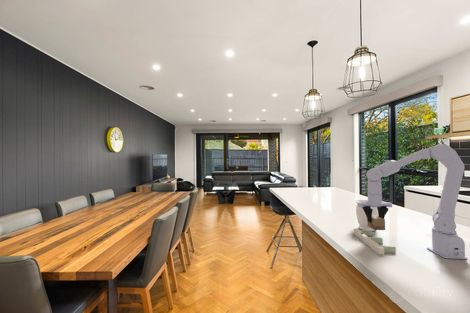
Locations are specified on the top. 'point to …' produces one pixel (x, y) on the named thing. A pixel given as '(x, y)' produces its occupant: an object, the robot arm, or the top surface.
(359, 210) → the jar
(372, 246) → the rack
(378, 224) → the cardboard box
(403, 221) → the top surface
